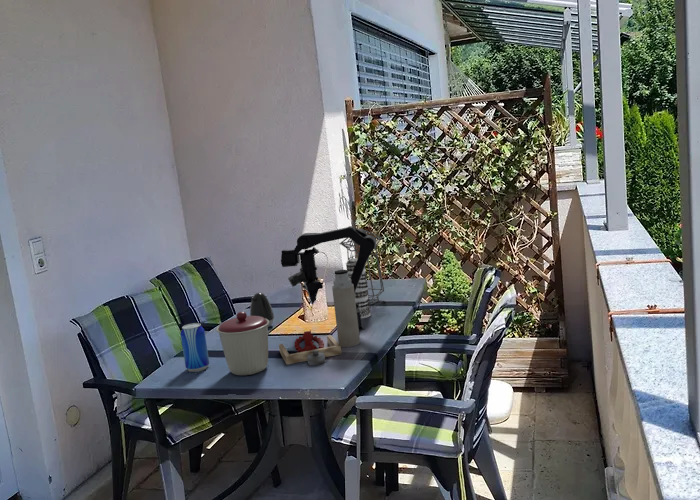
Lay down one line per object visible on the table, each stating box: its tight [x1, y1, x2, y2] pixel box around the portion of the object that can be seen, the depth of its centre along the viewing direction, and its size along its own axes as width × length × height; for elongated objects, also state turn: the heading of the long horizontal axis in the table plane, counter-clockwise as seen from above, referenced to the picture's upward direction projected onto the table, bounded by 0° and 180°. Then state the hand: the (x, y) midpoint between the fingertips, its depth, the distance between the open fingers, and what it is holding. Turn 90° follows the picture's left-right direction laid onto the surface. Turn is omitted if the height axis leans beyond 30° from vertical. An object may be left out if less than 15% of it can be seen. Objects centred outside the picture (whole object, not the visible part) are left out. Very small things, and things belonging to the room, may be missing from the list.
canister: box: [215, 311, 269, 376], centre depth 225 cm, size 18×18×21 cm
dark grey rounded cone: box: [249, 292, 275, 328], centre depth 279 cm, size 10×10×15 cm
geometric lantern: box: [339, 228, 385, 306], centre depth 300 cm, size 16×16×35 cm
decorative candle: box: [345, 257, 372, 320], centre depth 279 cm, size 9×9×25 cm
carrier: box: [278, 334, 343, 366], centre depth 235 cm, size 20×22×4 cm
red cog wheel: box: [294, 329, 325, 353], centre depth 238 cm, size 11×12×8 cm
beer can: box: [180, 322, 210, 373], centre depth 234 cm, size 8×8×16 cm
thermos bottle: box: [331, 269, 361, 348], centre depth 242 cm, size 8×8×28 cm
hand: (312, 302), depth 263 cm, fingers closed
